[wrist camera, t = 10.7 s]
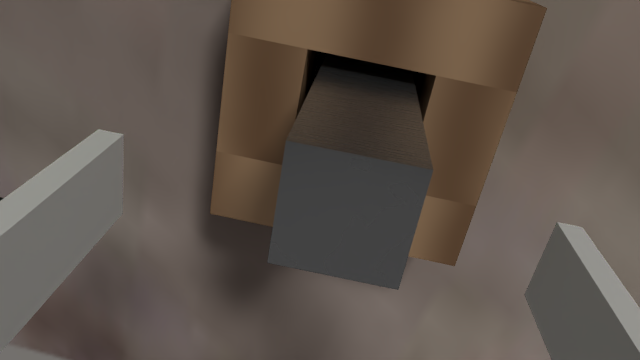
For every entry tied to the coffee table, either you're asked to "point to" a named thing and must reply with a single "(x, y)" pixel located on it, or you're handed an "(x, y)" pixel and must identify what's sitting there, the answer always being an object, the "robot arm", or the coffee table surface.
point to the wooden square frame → (387, 49)
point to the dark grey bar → (353, 175)
